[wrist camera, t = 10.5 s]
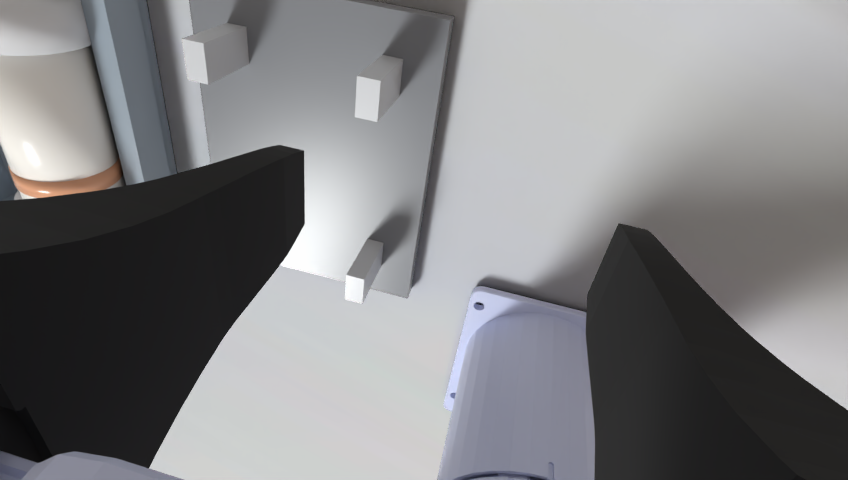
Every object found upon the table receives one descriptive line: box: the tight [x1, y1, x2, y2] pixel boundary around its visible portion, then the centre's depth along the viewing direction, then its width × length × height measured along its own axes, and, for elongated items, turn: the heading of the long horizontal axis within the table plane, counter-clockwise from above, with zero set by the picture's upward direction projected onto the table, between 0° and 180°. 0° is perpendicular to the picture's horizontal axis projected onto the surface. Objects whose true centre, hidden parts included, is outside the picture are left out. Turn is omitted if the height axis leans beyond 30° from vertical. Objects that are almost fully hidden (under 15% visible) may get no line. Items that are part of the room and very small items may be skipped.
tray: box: [0, 0, 177, 201], centre depth 23 cm, size 15×11×2 cm
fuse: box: [0, 0, 126, 200], centre depth 21 cm, size 10×5×5 cm
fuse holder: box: [182, 0, 454, 304], centre depth 21 cm, size 13×10×4 cm
